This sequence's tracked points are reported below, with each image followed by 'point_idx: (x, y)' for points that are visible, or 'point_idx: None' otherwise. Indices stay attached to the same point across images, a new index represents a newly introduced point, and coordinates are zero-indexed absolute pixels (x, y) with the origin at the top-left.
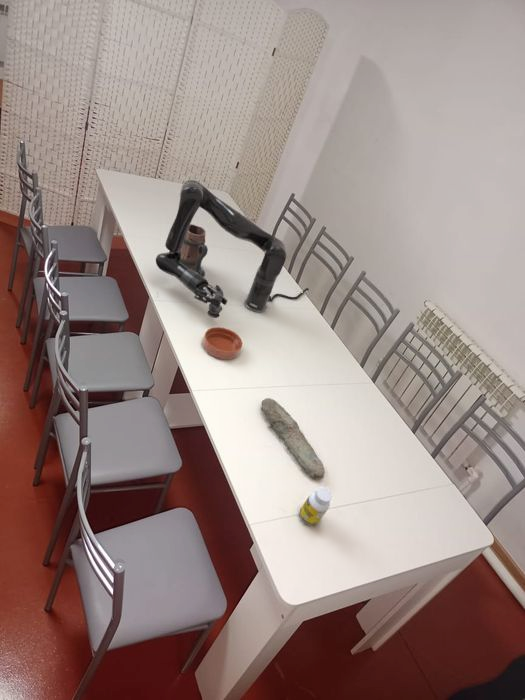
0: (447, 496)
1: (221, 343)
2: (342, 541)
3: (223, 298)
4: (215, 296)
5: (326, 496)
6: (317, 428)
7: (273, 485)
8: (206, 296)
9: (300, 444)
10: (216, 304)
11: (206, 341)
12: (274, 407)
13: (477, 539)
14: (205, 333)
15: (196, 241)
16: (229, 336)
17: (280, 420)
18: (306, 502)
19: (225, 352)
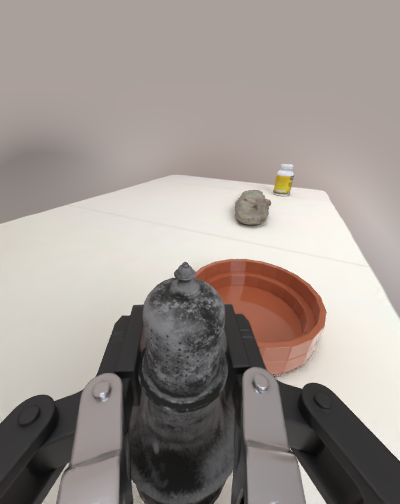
0: (166, 179)
1: None
2: (267, 188)
3: (138, 328)
4: (215, 360)
5: (286, 164)
6: (207, 206)
7: (297, 203)
8: (331, 433)
9: (252, 197)
10: (244, 322)
11: (323, 308)
12: (250, 210)
13: (181, 175)
14: (317, 333)
15: None
16: None
17: (261, 199)
18: (291, 180)
19: (275, 266)
